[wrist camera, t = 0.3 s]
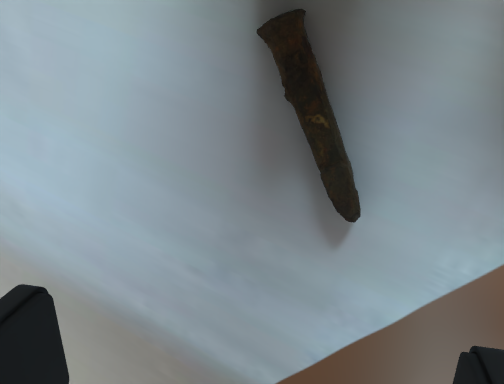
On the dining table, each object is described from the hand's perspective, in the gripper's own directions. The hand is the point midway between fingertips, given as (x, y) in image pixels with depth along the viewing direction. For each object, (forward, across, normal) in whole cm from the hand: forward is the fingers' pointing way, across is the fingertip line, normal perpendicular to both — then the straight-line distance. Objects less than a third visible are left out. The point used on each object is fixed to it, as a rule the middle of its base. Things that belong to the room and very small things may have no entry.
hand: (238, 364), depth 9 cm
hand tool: (+31, -1, 0) cm, 31 cm away
